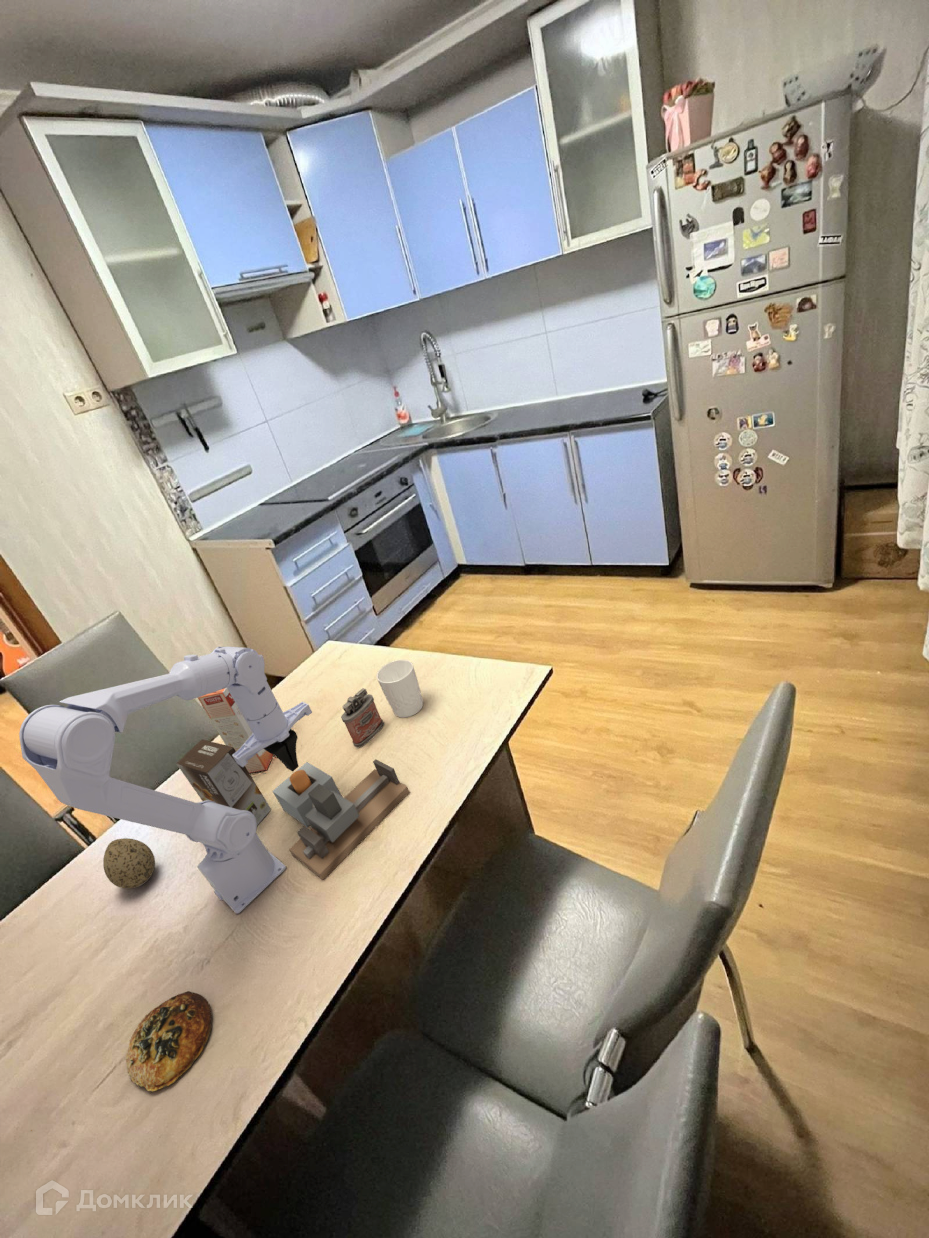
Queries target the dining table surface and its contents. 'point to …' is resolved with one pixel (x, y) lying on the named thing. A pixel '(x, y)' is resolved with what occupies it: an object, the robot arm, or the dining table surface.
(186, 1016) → the bread roll
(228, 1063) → the dining table surface
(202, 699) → the cracker box
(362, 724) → the lighter
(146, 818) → the robot arm
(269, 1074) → the dining table surface
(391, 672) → the white cup
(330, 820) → the carriage
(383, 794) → the rail
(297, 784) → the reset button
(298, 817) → the box
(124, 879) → the decorative egg
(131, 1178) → the dining table surface
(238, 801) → the coffee box
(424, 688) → the dining table surface
